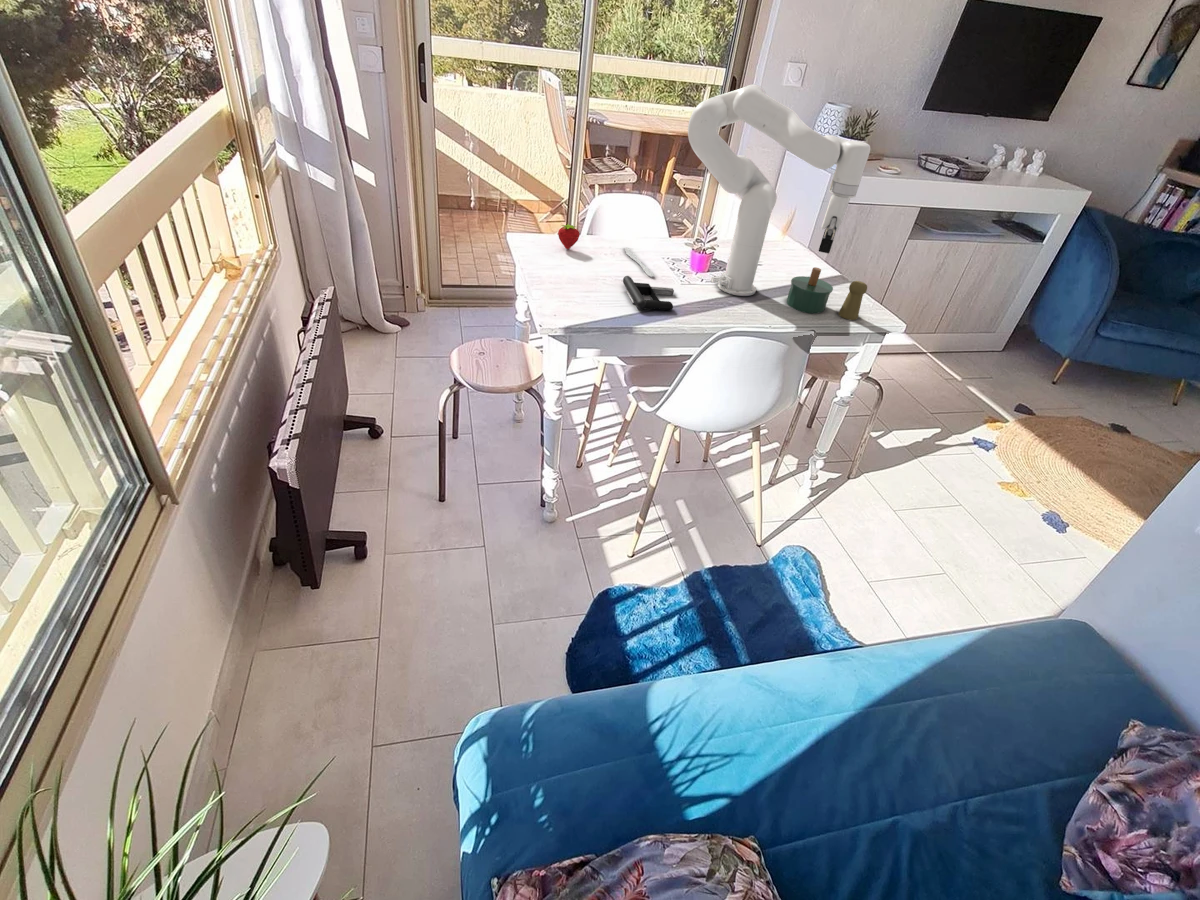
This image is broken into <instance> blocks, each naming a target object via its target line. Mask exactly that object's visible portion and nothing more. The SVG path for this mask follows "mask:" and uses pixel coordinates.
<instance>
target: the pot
mask: <svg viewBox="0 0 1200 900" xmlns="http://www.w3.org/2000/svg"><path fill="white" fill-rule="evenodd" d="M830 294H831V293H829V294H822V295H821V294H812V293H808V292H804V291H802V290H799V289H797V288H795V287H794V286H793V285H792V284H791V283H790V288H789V290H788V294H787V298H786V304H787V305H788V306H789V307H790V308H792V309H794V310H796V311H799V312H802V313H807V314H821V313H823V312H824V311H825V309H826V306H827V303H828V300H829V297H830Z"/></svg>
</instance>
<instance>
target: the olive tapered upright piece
mask: <svg viewBox="0 0 1200 900" xmlns="http://www.w3.org/2000/svg"><path fill="white" fill-rule="evenodd" d="M848 288H849V289H848V290H849V292H848V294H847V296H846V297H845V300H844V302H843V303H842V305H841V307H840V309H839V311H838V314H837V315H838V316H839V317H841V318H842V319H845V320H849V321H856V320H858V319H859V314H860V310H861V305H862V301H863V296H864V295H865V294H866V293H867V290H868V284H866V283H865V282H864V281H860V280H853V281H852V282H850V284H849V286H848Z"/></svg>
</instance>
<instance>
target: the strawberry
mask: <svg viewBox="0 0 1200 900" xmlns="http://www.w3.org/2000/svg"><path fill="white" fill-rule="evenodd" d="M569 223H570V221H568V222H567V224H561V228H559V229H558V232H557V236H558V239H559V241H560V243H561V244H562V245H563V247H564V249H566V250H570V249H571V248H572V247H573V246H574V245H575V244H576V243H577V242H578V241H579V238H580V235H581V234H580V231H579V230H578V228H577V226H574V224H573V225H572V224H569Z"/></svg>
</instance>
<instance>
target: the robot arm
mask: <svg viewBox="0 0 1200 900" xmlns="http://www.w3.org/2000/svg"><path fill="white" fill-rule="evenodd" d="M741 121H742V122H744V123H746V124H748V125H749V126H751V127H753V128H754V129H756V130H758V131H759V132H761V133H762V134H764V135H766V136H767V137H769V138H771V139H772V140H774V141H775V142H777V143H778V145H780V146H782V147H783V148H784V149H786V150H787V151H789V152H790V153H791V154H793V155H794V156H796V158H798V159H800V160H802V161H804V162H805V163H807V164H808V165H811V166H812V167H814V168H816V169H818V170H828V169H830V168H832V167H833V166H835V165H836V166H835V171H834V174H833V177H832V179H831V184H830V187H829V189H828V193H829V194H831V195H830V197H829V201H828V204H827V208H826V209H825V210H826V211H825V214H824V217H823V221H822V223H821V227H820V229H821V230H824V232H823V235H822V238H821V241H820V245H819V248H818V252H819V253H824V254H830V252H831V249H832V246H833V243H834V239H835V236H836V233H837V232H838V231H839V229H840V227H841V225H842V223H843V221H844V217H845V215H846V212H847V209H848V207H849V203H850V200H851V198H856V195H857V192H858V190H859V187H860V184H861V181H862V178H863V175H864V171H865V169H866V165H867V162H868V160H869V157H870V153H871V145H870V144H869V143H867V142H864V141H861V140H849V139H845V138H841V137H839V136H836V135H831V134H826V135H823V134H821V133H819V132H817V131H816V130H814V129H813V128H811V127H810V126H808V125H807V124H806V123H805V122H804V121H803V120H802V119H801V117H800V116H799V115H798V113H797V112H796V111H795V110H794V109H792V108H790V107H788V106H787V105H786V104H784V103H782V102H780V101H778V100H777V99H775V98H773V97H772V96H770V95H768V94H767V93H766V91H765V89H764V88H763V87H762V86H760V85H759V84H748V85H746V86H743V87H740V88H738V89H735V90H731V91H728V92H725V93H721V94H718V95H715V96H711V97H709V98H707V99H705V100H703V101H701V102H699V103H698V104H697V105H696V106H695V107H694V108H693V110H692V113H691V115H690V117H689V121H688V125H687V139H688V142H689V145H690V147H691V150H692V151H693V152H694V154H695V155H696V156H697V158H698V159H699V160H700V161H701V162H702V164H703V165H704V166H705V167H706V169H707V170H708V171H709V173H710V174H711V175H712V176H713V177H714V179H715V180H716V181H717V182H718V184H719V185H720V187H721V188H722V189H723V190H724V191H725V192H727V193H729V194H734V195H735V194H737V195H738V196H739V197H740V199H741V201H740V204H739V208H738V212H737V219H736V224H735V229H734V233H733V237H732V242H731V247H730V251H729V255H728V259H727V264H726V268H725V272H721V275H719V276H711V277H710V283H711V284H717V288H718V289H720V290H721V291H722V292H725V293H727V294H729V295H734V296H738V297H750V296H753V295H755V294H756V291H757V287H756V285H755V284H754V281H755V277H756V273H757V269H758V266H759V262H760V258H761V254H762V251H763V246H764V242H765V238H766V235H767V232H768V231H767V230H768V227H769V223H770V219H771V215H772V212H773V210H774V208H775V206H776V203H777V199H778V198H777V191H776V189H775V187H774V186H773V184H772V183H771V181H770V180H769V179H768V178H767V177H766V176H765V174H764V173H763V172H762V170H760V168H759V167H758V166H757V165H756V163H755V162H754V161H753V160H752V159H751V158H750V157H748V156H746V155H743V154H736V152H734V150H733V149H732V148H731V147H730V145H729V144H728V143H727V142H726V140H724V139H723V138H722V136H720V133H719V132H718V129H719V128H723V127H724V126H728V125H731V124H735V123H738V122H741Z"/></svg>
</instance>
